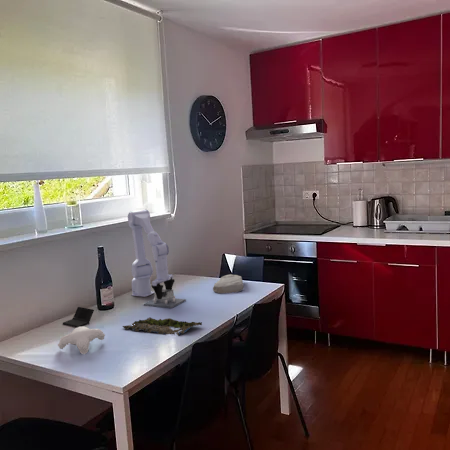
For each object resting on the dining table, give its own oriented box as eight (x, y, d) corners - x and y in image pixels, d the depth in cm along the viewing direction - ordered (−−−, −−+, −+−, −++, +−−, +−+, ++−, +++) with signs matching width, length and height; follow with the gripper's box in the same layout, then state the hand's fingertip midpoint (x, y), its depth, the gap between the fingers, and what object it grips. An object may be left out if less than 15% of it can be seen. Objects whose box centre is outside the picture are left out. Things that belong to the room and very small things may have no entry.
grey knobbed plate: (143, 305, 224) (143, 299, 224) (158, 298, 234) (158, 292, 234) (171, 308, 216) (171, 302, 216) (185, 300, 227) (185, 295, 226)
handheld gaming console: (58, 322, 202) (69, 301, 206) (68, 327, 208) (78, 306, 212) (78, 328, 197) (89, 306, 201) (88, 333, 203) (98, 312, 207)
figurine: (59, 354, 180) (59, 361, 163) (55, 329, 181) (55, 333, 164) (104, 344, 186) (109, 349, 170) (100, 320, 187) (105, 323, 170)
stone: (243, 292, 236) (243, 282, 235) (213, 294, 236) (212, 284, 235) (240, 282, 257) (240, 272, 256) (213, 284, 257) (212, 274, 256)
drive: (155, 302, 225) (154, 290, 225) (160, 299, 229) (159, 288, 228) (169, 303, 222) (168, 291, 221) (174, 301, 225) (173, 289, 224)
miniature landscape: (203, 326, 189) (202, 319, 188) (190, 338, 178) (189, 331, 178) (137, 321, 202) (136, 315, 202) (120, 332, 192) (119, 326, 191)
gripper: (159, 272, 215) (162, 301, 217) (177, 265, 228) (179, 293, 229) (147, 272, 218) (150, 300, 220) (165, 265, 231) (167, 292, 233)
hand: (164, 296), depth 225 cm, fingers open, 7 cm apart
